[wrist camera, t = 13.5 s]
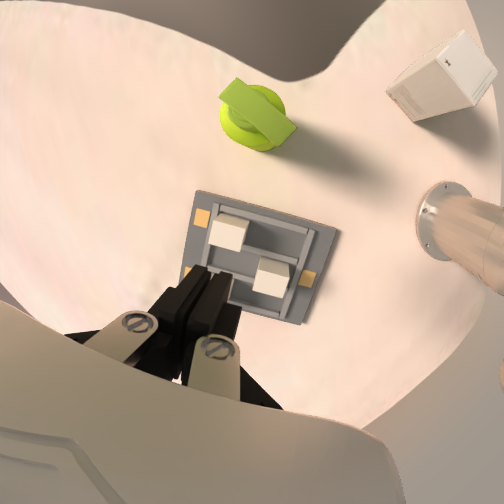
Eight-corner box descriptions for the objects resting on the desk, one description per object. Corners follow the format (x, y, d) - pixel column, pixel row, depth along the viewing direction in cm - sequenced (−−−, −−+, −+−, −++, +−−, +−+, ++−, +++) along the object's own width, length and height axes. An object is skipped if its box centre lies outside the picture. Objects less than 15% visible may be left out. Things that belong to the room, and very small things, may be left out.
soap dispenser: (268, 165, 36) (257, 169, 17) (230, 132, 35) (181, 105, 16) (298, 134, 34) (318, 106, 16) (259, 101, 33) (239, 44, 15)
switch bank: (334, 227, 38) (337, 231, 36) (299, 321, 43) (300, 328, 42) (198, 189, 38) (194, 191, 36) (179, 288, 44) (175, 293, 42)
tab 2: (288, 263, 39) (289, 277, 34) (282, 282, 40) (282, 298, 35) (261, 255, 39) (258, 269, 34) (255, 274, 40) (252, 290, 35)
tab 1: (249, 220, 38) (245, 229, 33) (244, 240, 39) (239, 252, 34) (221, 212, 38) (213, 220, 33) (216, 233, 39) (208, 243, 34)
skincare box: (411, 123, 32) (474, 111, 17) (381, 89, 31) (433, 57, 16) (439, 93, 29) (501, 74, 15) (411, 60, 28) (464, 26, 14)
